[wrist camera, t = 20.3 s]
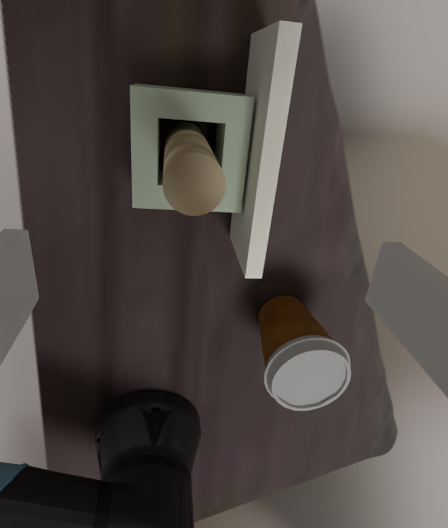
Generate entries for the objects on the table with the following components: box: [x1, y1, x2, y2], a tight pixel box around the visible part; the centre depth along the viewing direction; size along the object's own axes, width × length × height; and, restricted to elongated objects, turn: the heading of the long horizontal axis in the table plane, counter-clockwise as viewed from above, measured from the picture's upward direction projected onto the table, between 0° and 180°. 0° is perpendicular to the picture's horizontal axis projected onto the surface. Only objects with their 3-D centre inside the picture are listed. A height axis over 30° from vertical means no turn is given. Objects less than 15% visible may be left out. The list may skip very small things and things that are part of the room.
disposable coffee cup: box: [258, 295, 351, 411], centre depth 44 cm, size 10×10×12 cm
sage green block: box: [130, 83, 255, 213], centre depth 34 cm, size 10×10×6 cm
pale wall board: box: [230, 21, 302, 279], centre depth 34 cm, size 2×20×10 cm, turn 174°
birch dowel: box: [163, 121, 226, 216], centre depth 30 cm, size 4×4×16 cm
